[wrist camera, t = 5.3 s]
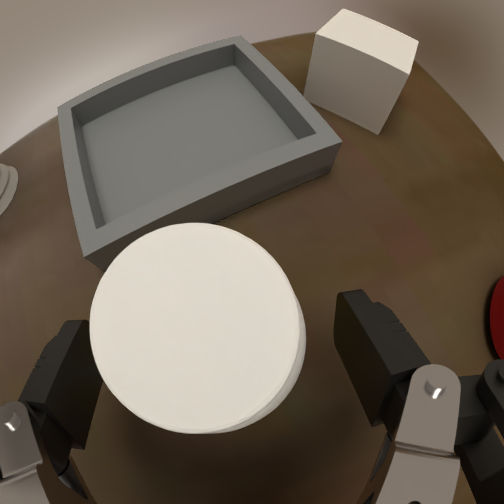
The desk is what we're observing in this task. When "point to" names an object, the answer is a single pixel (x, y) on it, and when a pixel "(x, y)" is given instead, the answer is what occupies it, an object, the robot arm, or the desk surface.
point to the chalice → (7, 185)
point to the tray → (186, 144)
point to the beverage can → (498, 318)
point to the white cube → (359, 69)
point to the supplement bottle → (197, 329)
